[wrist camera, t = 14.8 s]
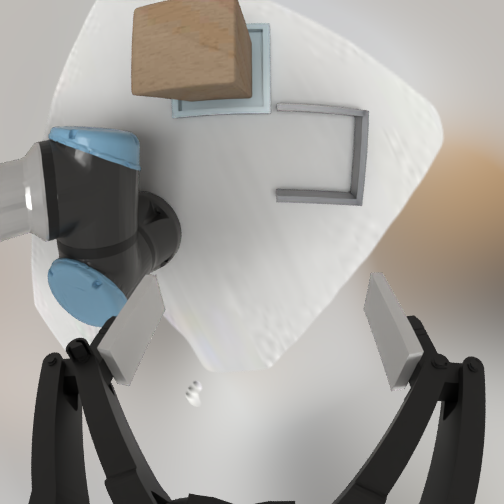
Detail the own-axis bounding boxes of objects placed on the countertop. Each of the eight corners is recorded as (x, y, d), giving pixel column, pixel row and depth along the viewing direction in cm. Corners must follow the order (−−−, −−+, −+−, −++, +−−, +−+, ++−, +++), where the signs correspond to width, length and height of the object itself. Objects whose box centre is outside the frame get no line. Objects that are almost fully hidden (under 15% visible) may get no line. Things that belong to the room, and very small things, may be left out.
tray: (177, 117, 41) (172, 118, 39) (176, 35, 34) (171, 32, 32) (270, 113, 40) (270, 113, 38) (269, 28, 33) (269, 23, 31)
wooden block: (188, 45, 34) (132, 7, 17) (252, 40, 34) (235, -11, 16) (189, 102, 39) (129, 96, 21) (252, 98, 38) (235, 83, 21)
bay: (276, 195, 46) (276, 202, 42) (277, 104, 39) (277, 103, 35) (355, 198, 45) (361, 205, 41) (361, 111, 38) (369, 110, 34)
